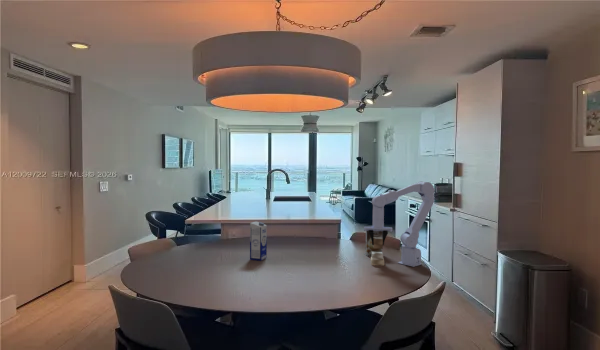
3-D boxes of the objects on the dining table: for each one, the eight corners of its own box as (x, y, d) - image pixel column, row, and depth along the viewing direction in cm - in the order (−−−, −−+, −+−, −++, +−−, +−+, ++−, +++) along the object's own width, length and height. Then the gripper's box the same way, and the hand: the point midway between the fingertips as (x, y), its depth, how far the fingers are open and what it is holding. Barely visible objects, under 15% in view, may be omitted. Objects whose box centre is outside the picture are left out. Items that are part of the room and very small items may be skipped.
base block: (383, 263, 193) (383, 257, 193) (384, 266, 187) (384, 260, 187) (370, 262, 194) (370, 256, 194) (371, 265, 188) (371, 260, 188)
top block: (382, 257, 193) (382, 252, 193) (382, 260, 187) (383, 254, 187) (371, 257, 194) (371, 251, 194) (372, 259, 188) (372, 253, 188)
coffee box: (366, 255, 207) (366, 227, 207) (365, 253, 214) (365, 226, 214) (382, 256, 207) (382, 228, 206) (381, 253, 213) (381, 226, 213)
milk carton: (255, 256, 202) (255, 220, 202) (266, 257, 200) (267, 221, 200) (249, 259, 196) (250, 222, 195) (261, 260, 193) (261, 223, 193)
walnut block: (381, 246, 192) (381, 237, 192) (382, 248, 188) (382, 239, 188) (373, 246, 193) (373, 237, 193) (373, 248, 188) (373, 238, 188)
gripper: (364, 219, 187) (364, 245, 187) (393, 220, 185) (392, 246, 185) (363, 217, 194) (363, 243, 194) (391, 218, 192) (391, 244, 192)
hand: (377, 244), depth 190 cm, fingers closed on walnut block, 4 cm apart
